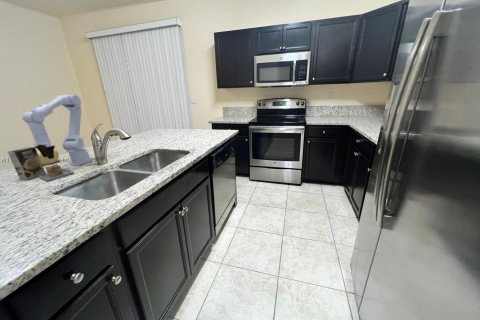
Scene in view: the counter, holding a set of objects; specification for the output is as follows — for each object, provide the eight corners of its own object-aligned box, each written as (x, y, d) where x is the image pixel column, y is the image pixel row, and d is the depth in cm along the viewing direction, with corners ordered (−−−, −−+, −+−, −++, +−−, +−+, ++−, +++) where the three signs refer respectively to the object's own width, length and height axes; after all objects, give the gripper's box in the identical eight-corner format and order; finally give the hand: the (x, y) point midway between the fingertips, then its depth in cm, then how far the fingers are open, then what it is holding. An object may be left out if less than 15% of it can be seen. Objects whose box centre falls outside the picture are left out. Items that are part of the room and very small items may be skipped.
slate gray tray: (65, 170, 122) (64, 168, 121) (74, 173, 116) (73, 171, 115) (39, 177, 112) (38, 175, 112) (47, 182, 106) (46, 179, 106)
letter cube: (59, 172, 117) (56, 164, 115) (63, 173, 114) (60, 165, 113) (48, 175, 113) (45, 167, 111) (51, 177, 110) (48, 168, 109)
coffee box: (28, 180, 110) (15, 151, 104) (19, 179, 111) (6, 151, 106) (46, 173, 118) (35, 146, 113) (38, 173, 119) (26, 147, 114)
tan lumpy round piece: (41, 167, 130) (35, 151, 126) (35, 164, 136) (29, 149, 132) (63, 161, 139) (58, 146, 135) (56, 159, 145) (51, 144, 141)
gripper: (25, 134, 110) (35, 158, 115) (35, 136, 103) (44, 161, 108) (42, 132, 116) (50, 154, 120) (52, 133, 109) (61, 157, 113)
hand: (49, 157), depth 114 cm, fingers open, 7 cm apart
